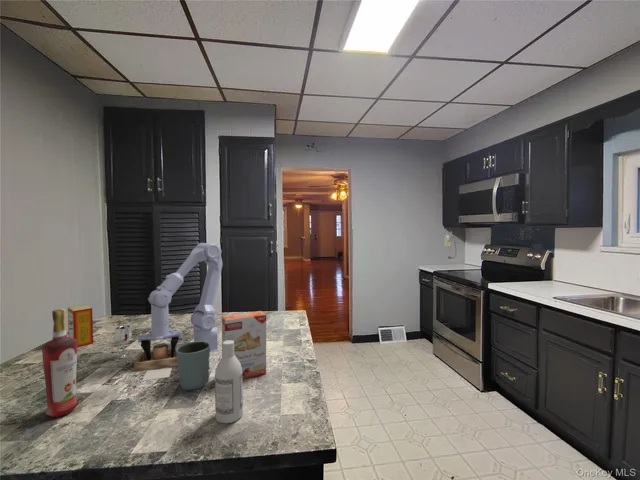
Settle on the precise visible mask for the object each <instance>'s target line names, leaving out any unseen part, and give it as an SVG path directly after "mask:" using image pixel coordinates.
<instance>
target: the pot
mask: <svg viewBox="0 0 640 480" xmlns="http://www.w3.org/2000/svg"><path fill="white" fill-rule="evenodd" d="M168 349H169V343H165V342H162V343H157V344H155V345H153V347H152V350H153V360H159V359H167V358H169V357H168Z"/></svg>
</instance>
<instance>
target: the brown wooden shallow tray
mask: <svg viewBox="0 0 640 480" xmlns="http://www.w3.org/2000/svg"><path fill="white" fill-rule="evenodd" d="M176 349H177V347H175V351H174V357H173V358H171V347H170V348H169V347H168V357H169V358H167V359H159V360H153V349H152V350H151V360H150V361H148V360H147V356H146V354H145V352H144V351H141V352H140V354H139V355H138V356H137V358H136V360H135V362H134V363H133V365H134V367H133V368H134V370H133V371H134V373H135V372H140V371H142V372H143V371H151V370H158V369H166V368H173V367H178V366H179V365H178V362H177V355H176Z"/></svg>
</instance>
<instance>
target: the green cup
mask: <svg viewBox="0 0 640 480" xmlns="http://www.w3.org/2000/svg"><path fill="white" fill-rule="evenodd" d="M176 348H177V349H176V355H177V362H178V365H179V366H177V367H178V368H177V369H178V375H179V386H180V387H181V388H182V389H183V390H186V391H187V390H189V391H190V390H196V389H200V388H202V387H204V386H206V385H207V384H208V383H209V380H210V371H209V369H210V356H211V355H210V354H211V352H210V343H208V342H205V341H194V340H193V341H189V342H185V343H183V344H181V345H179V346H176Z"/></svg>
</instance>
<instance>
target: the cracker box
mask: <svg viewBox="0 0 640 480" xmlns="http://www.w3.org/2000/svg"><path fill="white" fill-rule="evenodd" d="M227 340H232V341H234V355H235V356H236V358H237V359H238V360H239V362H240V364H241V367H242V380H244V379H248V378H252V377H257V376H261V375H262V376H263V375H266V374H267V314H265V313H264V312H263V311H262V310H258V311H251V312H250V311H249V312H242V313H241V312H240V313H235V314H234V313H233V314H226V315H222V316H221V358H222V357H223V342H224V341H227Z"/></svg>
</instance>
